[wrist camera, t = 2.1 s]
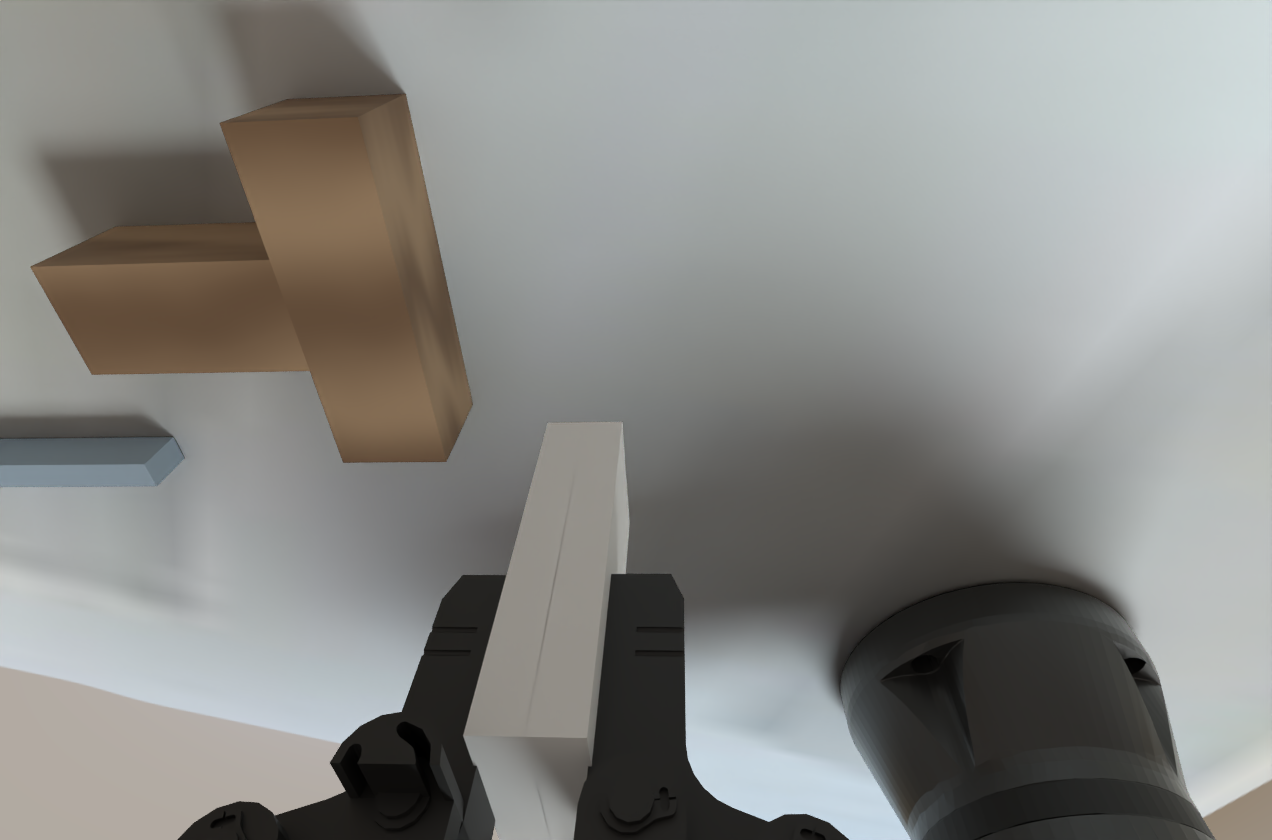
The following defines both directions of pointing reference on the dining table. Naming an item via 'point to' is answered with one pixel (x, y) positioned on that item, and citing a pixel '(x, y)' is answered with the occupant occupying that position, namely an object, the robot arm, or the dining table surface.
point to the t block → (293, 280)
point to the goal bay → (87, 461)
